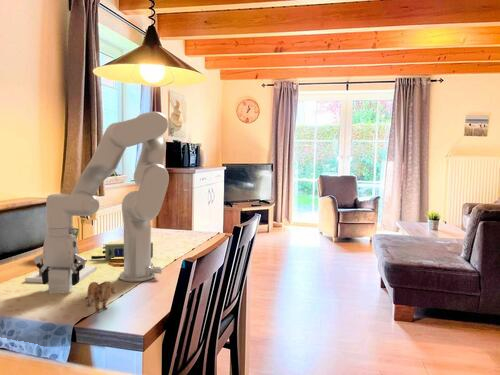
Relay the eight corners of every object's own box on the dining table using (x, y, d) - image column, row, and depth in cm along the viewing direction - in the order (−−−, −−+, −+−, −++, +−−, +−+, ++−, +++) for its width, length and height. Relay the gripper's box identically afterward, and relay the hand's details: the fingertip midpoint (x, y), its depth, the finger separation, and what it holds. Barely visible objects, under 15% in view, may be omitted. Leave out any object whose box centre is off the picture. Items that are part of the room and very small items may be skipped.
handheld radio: (152, 258, 166) (90, 261, 159) (152, 256, 169) (91, 259, 162) (152, 243, 166) (90, 245, 159) (152, 241, 169) (91, 244, 162)
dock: (96, 269, 148) (96, 261, 147) (76, 283, 132) (76, 274, 132) (51, 268, 149) (51, 259, 148) (25, 281, 133) (25, 272, 132)
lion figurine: (119, 311, 110) (119, 281, 110) (102, 317, 106) (101, 285, 106) (93, 298, 120) (92, 270, 119) (76, 303, 116) (76, 274, 115)
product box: (53, 287, 128) (53, 266, 128) (73, 286, 130) (72, 265, 129) (48, 294, 122) (47, 271, 122) (68, 292, 124) (68, 270, 123)
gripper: (91, 230, 128) (91, 280, 129) (40, 229, 128) (41, 278, 130) (80, 235, 120) (81, 288, 122) (26, 233, 121) (28, 286, 122)
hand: (60, 283), depth 126 cm, fingers open, 9 cm apart
